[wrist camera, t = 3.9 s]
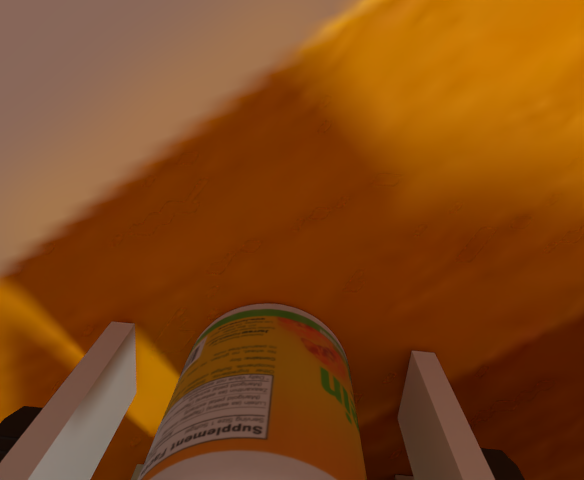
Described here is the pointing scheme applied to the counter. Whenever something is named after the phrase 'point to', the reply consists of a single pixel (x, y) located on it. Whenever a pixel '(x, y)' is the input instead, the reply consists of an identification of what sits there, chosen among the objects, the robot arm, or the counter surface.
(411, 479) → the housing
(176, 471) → the supplement bottle
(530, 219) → the counter surface
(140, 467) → the tray
